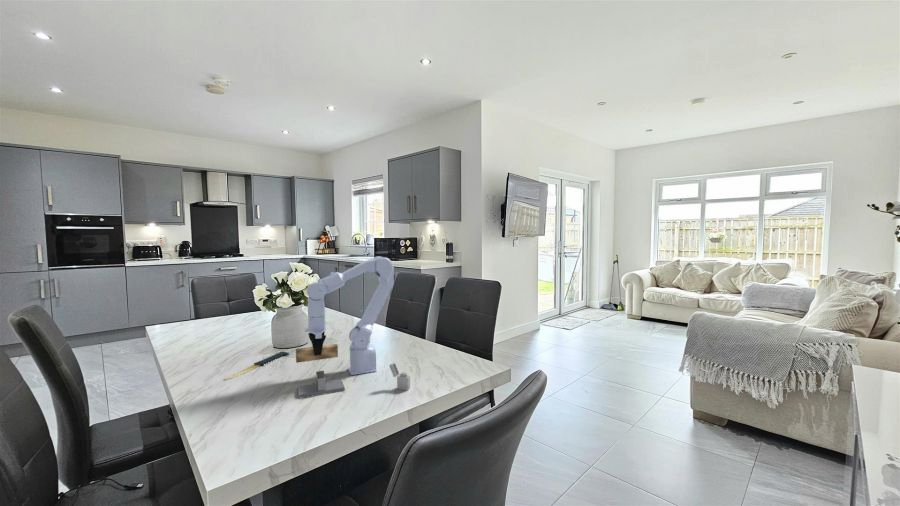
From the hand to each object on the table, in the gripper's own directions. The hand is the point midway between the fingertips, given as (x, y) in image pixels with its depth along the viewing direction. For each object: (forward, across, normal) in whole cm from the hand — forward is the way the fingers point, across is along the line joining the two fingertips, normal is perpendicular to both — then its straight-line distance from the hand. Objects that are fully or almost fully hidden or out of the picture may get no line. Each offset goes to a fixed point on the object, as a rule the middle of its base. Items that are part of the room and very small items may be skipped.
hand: (317, 353), depth 132 cm
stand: (+9, +12, 0) cm, 15 cm away
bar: (+2, 0, 0) cm, 2 cm away
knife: (+9, -22, -20) cm, 32 cm away
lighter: (+9, +22, +24) cm, 34 cm away
